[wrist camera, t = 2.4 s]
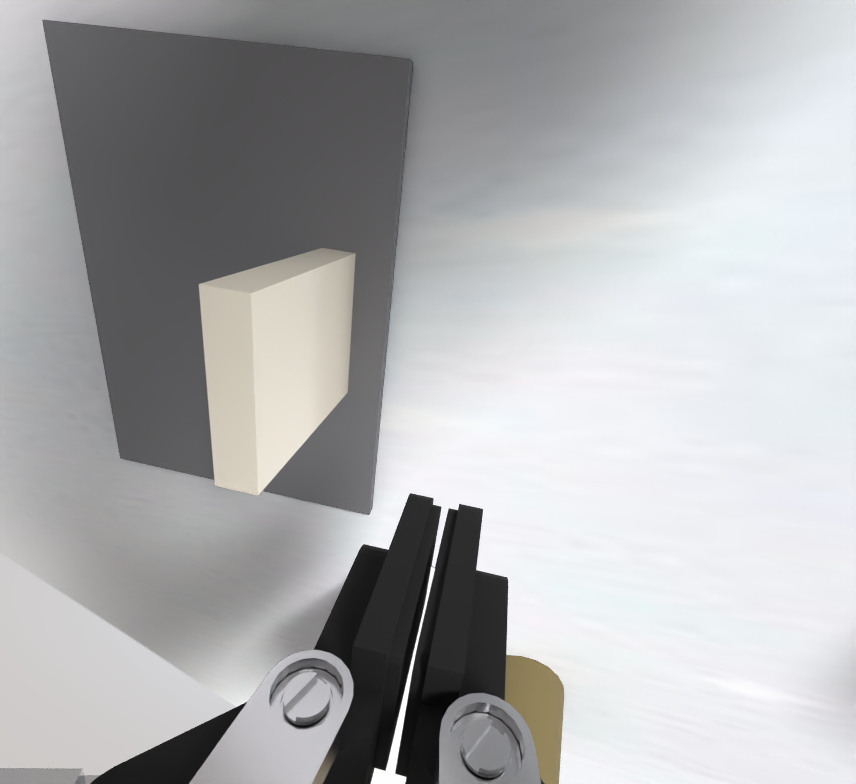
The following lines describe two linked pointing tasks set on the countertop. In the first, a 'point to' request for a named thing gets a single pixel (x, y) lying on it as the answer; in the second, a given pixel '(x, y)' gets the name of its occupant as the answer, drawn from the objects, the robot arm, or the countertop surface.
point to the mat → (229, 220)
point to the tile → (274, 360)
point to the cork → (538, 709)
